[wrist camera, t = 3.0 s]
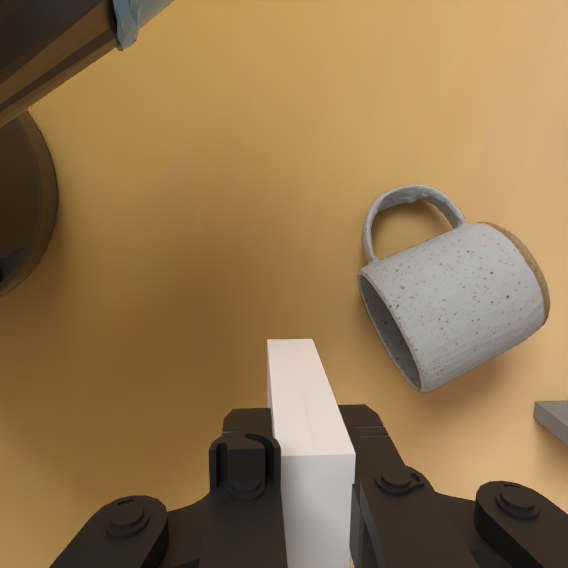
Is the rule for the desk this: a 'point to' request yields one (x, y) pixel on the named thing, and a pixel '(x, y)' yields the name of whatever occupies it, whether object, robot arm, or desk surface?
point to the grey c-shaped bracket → (553, 417)
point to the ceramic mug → (450, 293)
